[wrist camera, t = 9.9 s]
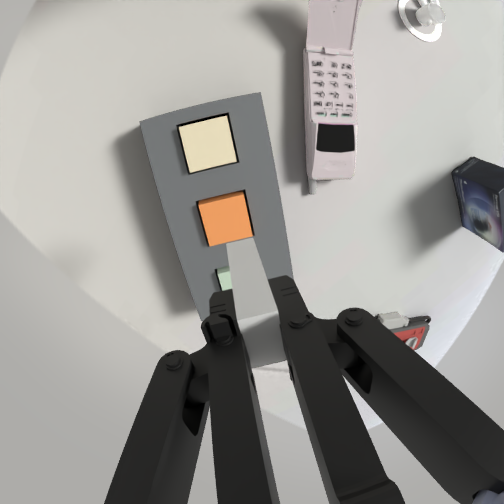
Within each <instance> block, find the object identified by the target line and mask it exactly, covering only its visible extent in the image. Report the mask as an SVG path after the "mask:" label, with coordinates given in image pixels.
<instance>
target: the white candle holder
mask: <svg viewBox="0 0 504 504" xmlns="http://www.w3.org/2000/svg"><path fill="white" fill-rule="evenodd" d="M407 1H409V0H399V2H398V10H399V14H400V17H401V19H402V21H403V23H404V24H405V26H406V27H407V29H408V30H409V31H410V32H411V33H412V34H413V35H415V36H416V37H417V38H419V39H421V40H423V41H427V42H432V41H435V40H437V39H438V38H439V37H440V35H441V31H442V25H441V23H443V22H444V21H445V13H444V11H443V10H442V8H441V7H440V6H439V1H438V0H431V2H432V3H430V2H429V1H428V0H418V1H419V4H420V5H421V8H419V9H418V10H417V11H416V14H415V15H416V18H417V20H418V21H419V23H420V24H421V25H422V26H425V27H427V26H429V25H433V24H436V27H435V30H434V32H433V33H431V34H428V35H426V34H422V33H420V32H418V31H417V30H416V29H415V28H413V26H412V25H411V24H410V23H409V21H408V19H407V17H406V14H405V4H406V2H407Z"/></svg>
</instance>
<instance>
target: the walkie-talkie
mask: <svg viewBox="0 0 504 504" xmlns="http://www.w3.org/2000/svg"><path fill="white" fill-rule="evenodd" d="M426 319H427V321H425V320H426ZM377 320H378V321H379V322H381V323H382V324H383V325H384V326H385V327H387V328H388V329H389V330H390V331H391V332H393V333H394V334H395V335H396V336H397V337H398V338H400V339H401V340H402V341H403V342H404V343H406V344H407V345H408V346H409V347H410V348H411V349H413V350H417V349H418V348H420V347H421V346H422V345H423V342H424V340H425V338H426V335H427V333H428V330H429V325H428V323H429V322H430V321H431V318H430V317H429V316H423V317H421V316H420V317H414V318H410V319H409V318H407V317H403V316H401V315H400V314H399V313H398V312H394V313H387V314H378V317H377Z"/></svg>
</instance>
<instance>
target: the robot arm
mask: <svg viewBox="0 0 504 504" xmlns="http://www.w3.org/2000/svg"><path fill="white" fill-rule="evenodd" d="M226 247H227V254H228V261H229V269H230V276H231V283H232V289H228V290H223V291H219V292H214V293H213V294H212V296H211V298H210V299H209V308H210V309H209V312H210V316H208V317H207V318H205V320H204V321H203V322H202V324H201V329H202V332H203V334H204V337H205V339H206V342H207V344H206V345H205V346H204V347H203V348H202V349H200V350H198V351H197V352H194V353H192V354H190V355H189V354H188V353H186V352H185V351H181V350H176V351H171V352H169V353H166V354H165V355H164V356H163V357H161V359H160V360H159V362H158V364H157V366H156V368H155V371H154V373H153V376H152V378H151V381H150V383H149V385H148V388H147V390H146V393H145V395H144V398H143V400H142V403H141V405H140V408H139V411H138V413H137V415H136V418H135V421H134V423H133V426H132V429H131V431H130V434H129V436H128V439H127V442H126V444H125V447H124V450H123V452H122V455H121V457H120V460H119V463H118V466H117V469H116V471H115V474H114V477H113V480H112V483H111V485H110V488H109V491H108V494H107V497H106V500H105V503H104V504H187V503H188V498H189V494H190V489H191V485H192V481H193V476H194V472H195V468H196V463H197V459H198V455H199V450H200V446H201V442H202V437H203V433H204V428H205V424H206V420H207V416H208V411H209V407H210V414H211V430H212V444H213V456H214V467H215V478H216V489H217V498H218V504H280V501H279V497H278V492H277V488H276V483H275V478H274V473H273V469H272V464H271V460H270V455H269V450H268V445H267V440H266V435H265V431H264V425H263V421H262V415H261V410H260V405H259V400H258V395H257V390H256V385H255V380H254V376H253V373H252V369H251V368H256V367H261V366H265V365H269V364H273V363H277V362H281V361H285V360H287V361H288V367H289V373H290V379H291V381H293V385H294V388H295V391H296V395H297V398H298V401H299V405H300V408H301V411H302V414H303V418H304V421H305V424H306V428H307V431H308V434H309V437H310V441H311V444H312V448H313V451H314V454H315V457H316V461H317V464H318V467H319V471H320V474H321V477H322V481H323V484H324V487H325V491H326V494H327V497H328V501H329V504H405V502H404V499H403V497H402V494H401V492H400V490H399V488H398V486H397V485H396V484H395V482H393V481H392V480H390V479H389V478H388V477H387V475H386V473H385V471H384V469H383V466H382V464H381V461H380V459H379V457H378V454H377V452H376V450H375V447H374V445H373V443H372V440H371V438H370V436H369V434H368V431H367V429H366V427H365V425H364V422H363V420H362V418H361V415H360V413H359V411H358V409H357V407H356V404H355V402H354V400H353V398H352V395H351V393H350V391H349V389H348V387H347V384H346V382H345V380H344V378H343V376H344V377H345V378H346V380H347V381H348V382H349V383H350V384H351V385H352V386H353V388H354V389H355V390H356V391H357V392H358V393H359V394H360V396H361V397H362V398H363V399H364V400H365V401H366V402H367V404H368V405H369V406H370V407H371V408H372V409H373V410H374V412H375V413H376V414H377V415H378V416H379V417H380V418H381V419H382V421H383V422H384V423H385V424H386V425H387V426H388V427H389V429H390V430H391V431H392V432H393V433H394V434H395V435H396V436H397V438H398V439H399V440H400V441H401V442H402V443H403V444H404V445H405V446H406V448H407V449H408V450H409V451H410V452H411V453H412V454H413V455H414V457H415V458H416V459H417V460H418V461H419V462H420V463H421V464H422V466H423V467H424V468H425V469H426V470H427V471H428V472H429V473H430V474H431V476H432V477H433V478H434V479H435V480H436V481H437V482H438V483H439V484H440V485H441V487H442V488H443V489H444V490H445V491H446V492H447V493H448V494H449V495H450V496H452V498H454V499H455V500H456V501H458V502H459V503H461V504H504V430H503V429H502V428H500V427H499V426H498V425H497V424H496V423H495V422H494V421H493V420H492V419H491V418H490V417H489V416H487V415H486V414H485V413H484V412H483V411H482V410H481V409H480V408H479V407H478V406H476V405H475V404H474V403H473V402H472V401H471V400H470V399H469V398H468V397H466V396H465V395H464V394H463V393H462V392H461V391H460V390H459V389H457V388H456V387H455V386H454V385H453V384H452V383H451V382H449V381H448V380H447V379H446V378H445V377H444V376H443V375H441V374H440V373H439V372H438V371H437V370H436V369H435V368H433V367H432V366H431V365H430V364H429V363H428V362H427V361H425V360H424V359H423V358H422V357H421V356H420V355H418V354H417V353H416V352H415V351H414V350H413V349H411V348H410V347H409V346H408V345H407V344H406V343H404V342H403V341H402V340H401V339H400V338H398V337H397V336H396V335H395V334H394V333H393V332H391V331H390V330H389V329H388V328H387V327H385V326H384V325H383V324H382V323H381V322H379V321H378V320H377V319H376V318H375V317H373V316H372V315H371V314H370V313H369V312H367V311H365V310H364V309H360V308H349V309H346V310H343V311H342V312H341V313H339V315H338V317H337V319H329V320H327V319H319V318H316V317H314V315H313V314H312V313H310V312H309V311H308V309H307V307H306V305H305V303H304V301H303V299H302V297H301V294H300V292H299V290H298V288H297V286H296V284H295V282H294V280H293V279H292V278H290V277H289V276H287V275H284V276H279V277H275V278H271V279H267V277H266V274H265V271H264V268H263V265H262V262H261V259H260V256H259V253H258V251H257V248H256V245H255V242H254V239H253V238H248V239H244V240H240V241H235V242H231V243H227V244H226ZM342 375H343V376H342Z"/></svg>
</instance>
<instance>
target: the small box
mask: <svg viewBox="0 0 504 504" xmlns="http://www.w3.org/2000/svg"><path fill="white" fill-rule="evenodd" d="M452 176H453V180H454V184H455V189H456V193H457V198H458V203H459V209H460V214H461V220H462V226H463V227H465V228H466V229H468V230H470V231H471V232H473V233H475V234H476V235H478V236H479V237H481V238H482V239H484V240H485V241H487V242H489V243H490V244H491V245H493V246H494V247H496V248H497V249H499V250H500V251H502V252H504V168H502V167H500V166H497V165H495V164H492V163H489V162H486V161H483V160H480V159H478V158H476V157H472V158H471V159H470V160H469V161H467V162H466V163H464V164H463V165H461V166H460V167H458V168H457V169H455V170H454V171H453V172H452Z"/></svg>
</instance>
